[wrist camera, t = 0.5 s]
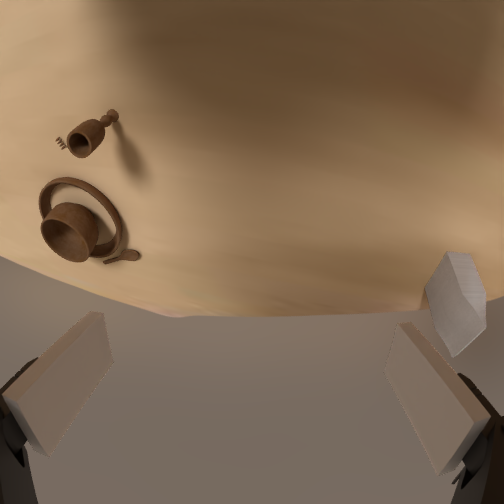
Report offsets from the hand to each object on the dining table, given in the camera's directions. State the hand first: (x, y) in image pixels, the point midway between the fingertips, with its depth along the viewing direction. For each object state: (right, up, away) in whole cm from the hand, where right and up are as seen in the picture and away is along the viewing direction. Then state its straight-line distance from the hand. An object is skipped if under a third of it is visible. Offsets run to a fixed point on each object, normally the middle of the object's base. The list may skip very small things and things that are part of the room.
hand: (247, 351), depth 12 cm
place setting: (-16, +10, +18) cm, 26 cm away
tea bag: (+24, +2, +19) cm, 30 cm away
